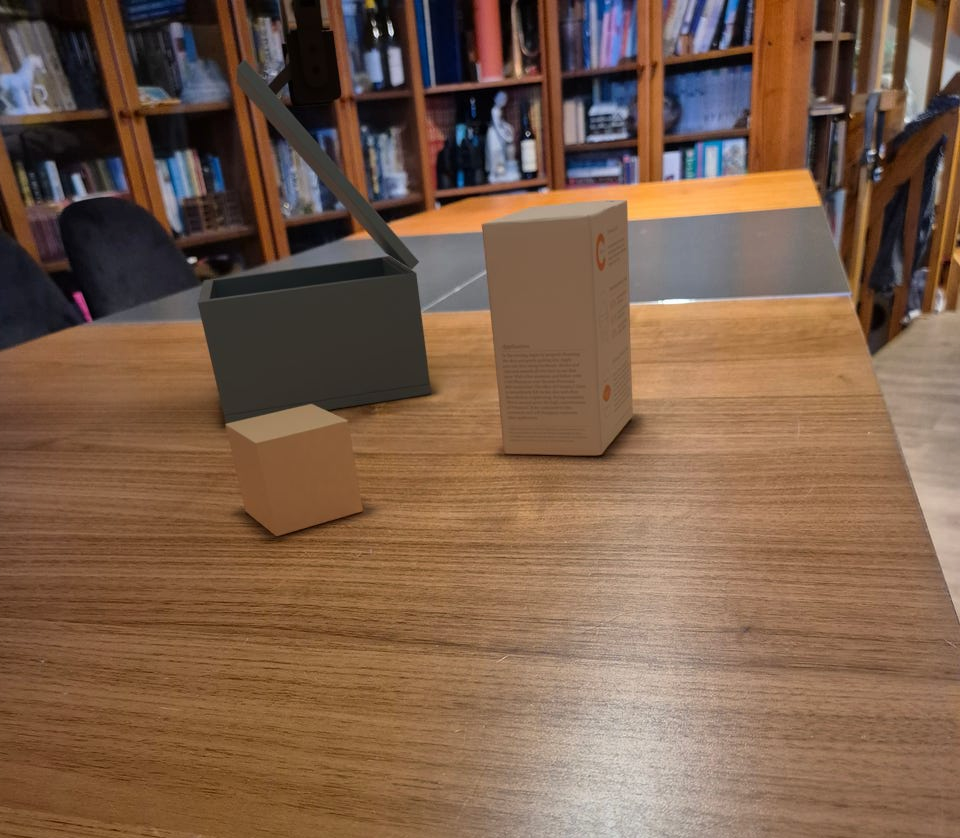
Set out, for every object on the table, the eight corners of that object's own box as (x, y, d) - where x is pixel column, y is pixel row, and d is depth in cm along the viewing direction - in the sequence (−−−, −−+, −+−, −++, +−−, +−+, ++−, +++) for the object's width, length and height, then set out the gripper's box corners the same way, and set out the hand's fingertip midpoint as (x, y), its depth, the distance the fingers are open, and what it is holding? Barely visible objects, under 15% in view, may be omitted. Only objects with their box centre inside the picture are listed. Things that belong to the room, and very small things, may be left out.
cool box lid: (235, 68, 59) (290, 7, 58) (236, 83, 71) (281, 33, 70) (411, 270, 67) (461, 218, 66) (385, 253, 79) (427, 209, 78)
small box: (542, 417, 63) (527, 205, 56) (634, 417, 60) (630, 197, 54) (500, 455, 56) (478, 221, 50) (602, 457, 54) (592, 212, 48)
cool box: (226, 426, 69) (197, 302, 65) (227, 387, 81) (203, 280, 76) (431, 394, 71) (416, 272, 67) (403, 361, 83) (389, 255, 79)
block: (276, 537, 48) (255, 442, 46) (245, 511, 52) (224, 423, 49) (363, 511, 50) (348, 419, 48) (327, 489, 54) (311, 403, 51)
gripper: (209, -185, 65) (261, 113, 74) (201, -285, 50) (266, 101, 59) (316, -189, 66) (354, 104, 75) (339, -288, 51) (383, 91, 60)
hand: (315, 100), depth 67 cm, fingers closed on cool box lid, 5 cm apart
